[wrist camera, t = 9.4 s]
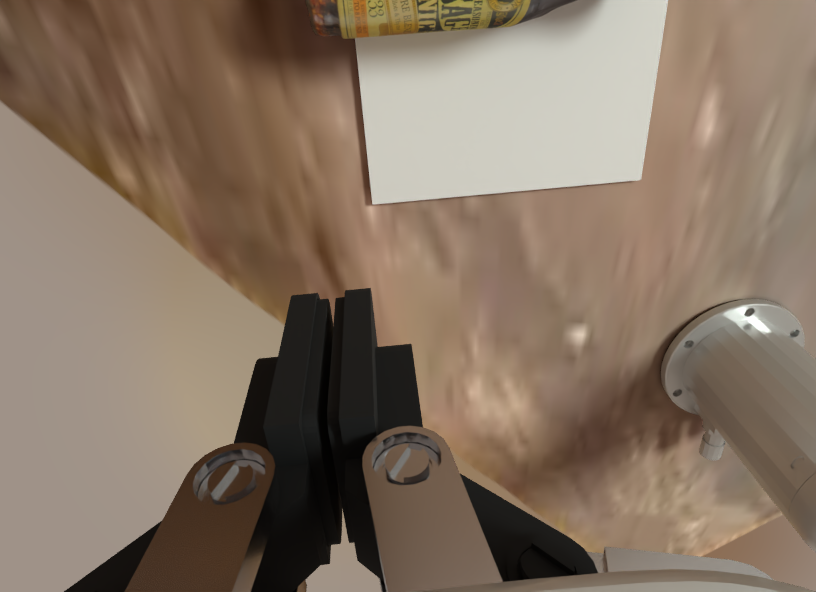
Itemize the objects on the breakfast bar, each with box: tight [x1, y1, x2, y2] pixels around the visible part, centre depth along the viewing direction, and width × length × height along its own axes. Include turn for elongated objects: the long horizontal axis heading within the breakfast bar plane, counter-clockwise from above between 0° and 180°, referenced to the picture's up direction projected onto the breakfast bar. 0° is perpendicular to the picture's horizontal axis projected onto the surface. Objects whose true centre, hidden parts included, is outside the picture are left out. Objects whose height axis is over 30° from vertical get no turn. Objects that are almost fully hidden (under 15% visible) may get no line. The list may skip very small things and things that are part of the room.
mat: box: [355, 0, 668, 205], centre depth 37 cm, size 16×20×1 cm
